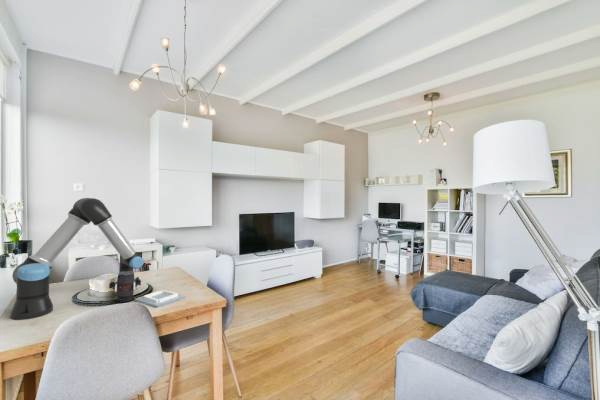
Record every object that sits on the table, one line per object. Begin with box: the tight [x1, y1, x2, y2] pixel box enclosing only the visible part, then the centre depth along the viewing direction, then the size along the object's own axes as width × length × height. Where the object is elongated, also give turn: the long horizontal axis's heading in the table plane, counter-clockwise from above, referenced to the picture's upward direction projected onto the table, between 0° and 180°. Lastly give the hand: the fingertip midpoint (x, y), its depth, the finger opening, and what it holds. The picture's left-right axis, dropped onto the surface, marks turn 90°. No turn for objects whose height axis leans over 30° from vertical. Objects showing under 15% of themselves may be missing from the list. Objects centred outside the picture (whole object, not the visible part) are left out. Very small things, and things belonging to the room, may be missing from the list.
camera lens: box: [116, 271, 135, 303], centre depth 158 cm, size 8×8×15 cm
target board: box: [134, 289, 186, 309], centre depth 162 cm, size 20×18×3 cm
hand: (125, 288), depth 154 cm, fingers closed on camera lens, 8 cm apart
